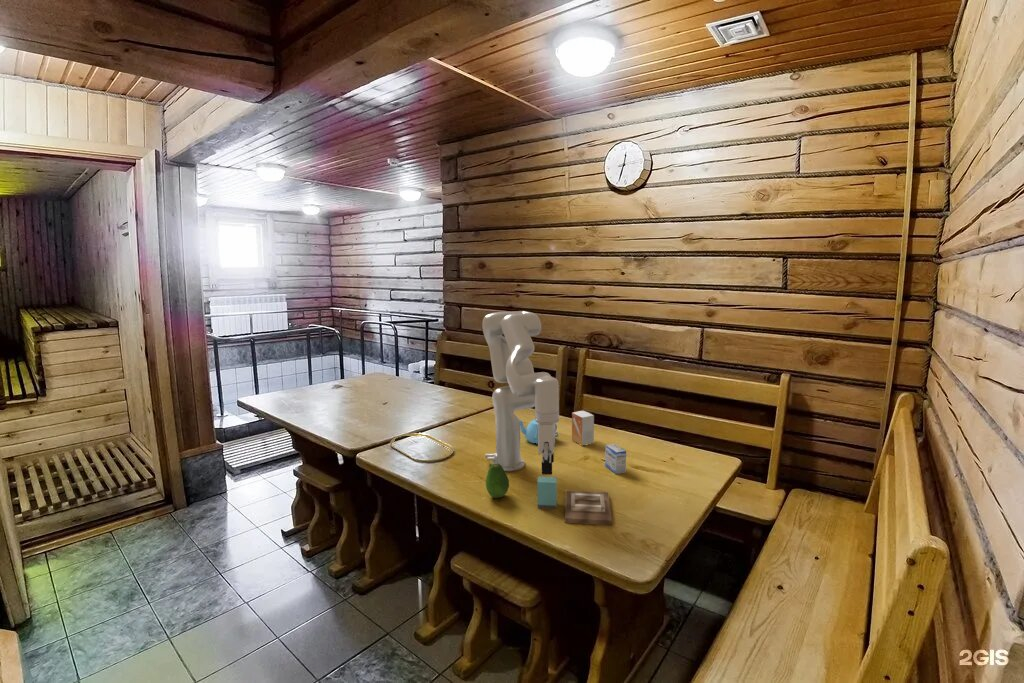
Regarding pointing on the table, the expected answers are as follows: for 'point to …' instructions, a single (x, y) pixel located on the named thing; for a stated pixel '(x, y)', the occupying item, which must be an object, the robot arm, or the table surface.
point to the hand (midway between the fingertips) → (547, 467)
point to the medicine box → (615, 459)
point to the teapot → (532, 431)
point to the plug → (547, 492)
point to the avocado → (497, 481)
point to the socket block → (588, 508)
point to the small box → (582, 427)
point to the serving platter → (427, 437)
